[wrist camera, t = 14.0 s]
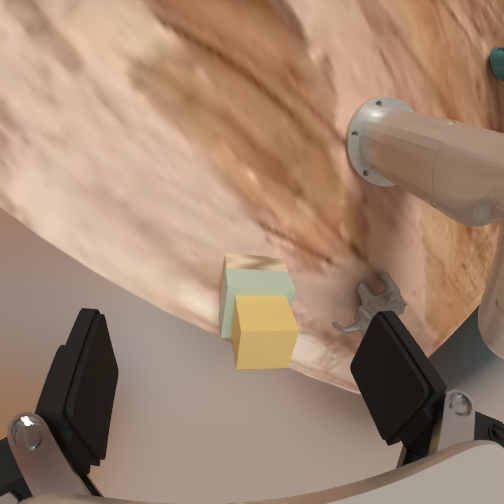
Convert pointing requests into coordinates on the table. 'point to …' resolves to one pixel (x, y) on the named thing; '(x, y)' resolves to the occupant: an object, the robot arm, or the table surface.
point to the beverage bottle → (497, 61)
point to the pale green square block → (250, 290)
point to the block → (263, 332)
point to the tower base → (252, 264)
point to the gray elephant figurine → (375, 304)
